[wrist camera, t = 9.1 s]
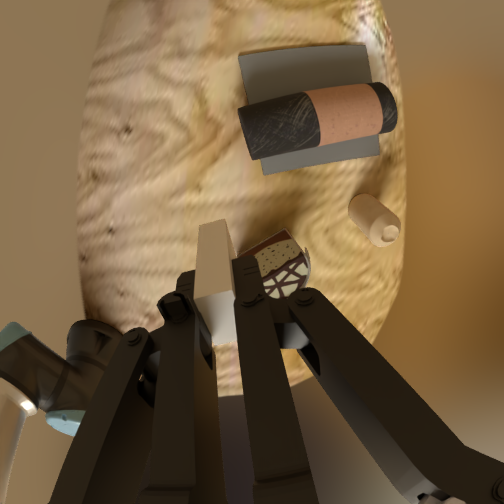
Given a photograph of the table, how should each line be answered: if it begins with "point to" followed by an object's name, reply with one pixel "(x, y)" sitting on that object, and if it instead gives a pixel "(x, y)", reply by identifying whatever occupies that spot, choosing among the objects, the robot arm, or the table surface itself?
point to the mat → (304, 79)
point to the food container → (281, 264)
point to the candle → (374, 219)
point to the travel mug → (317, 118)
